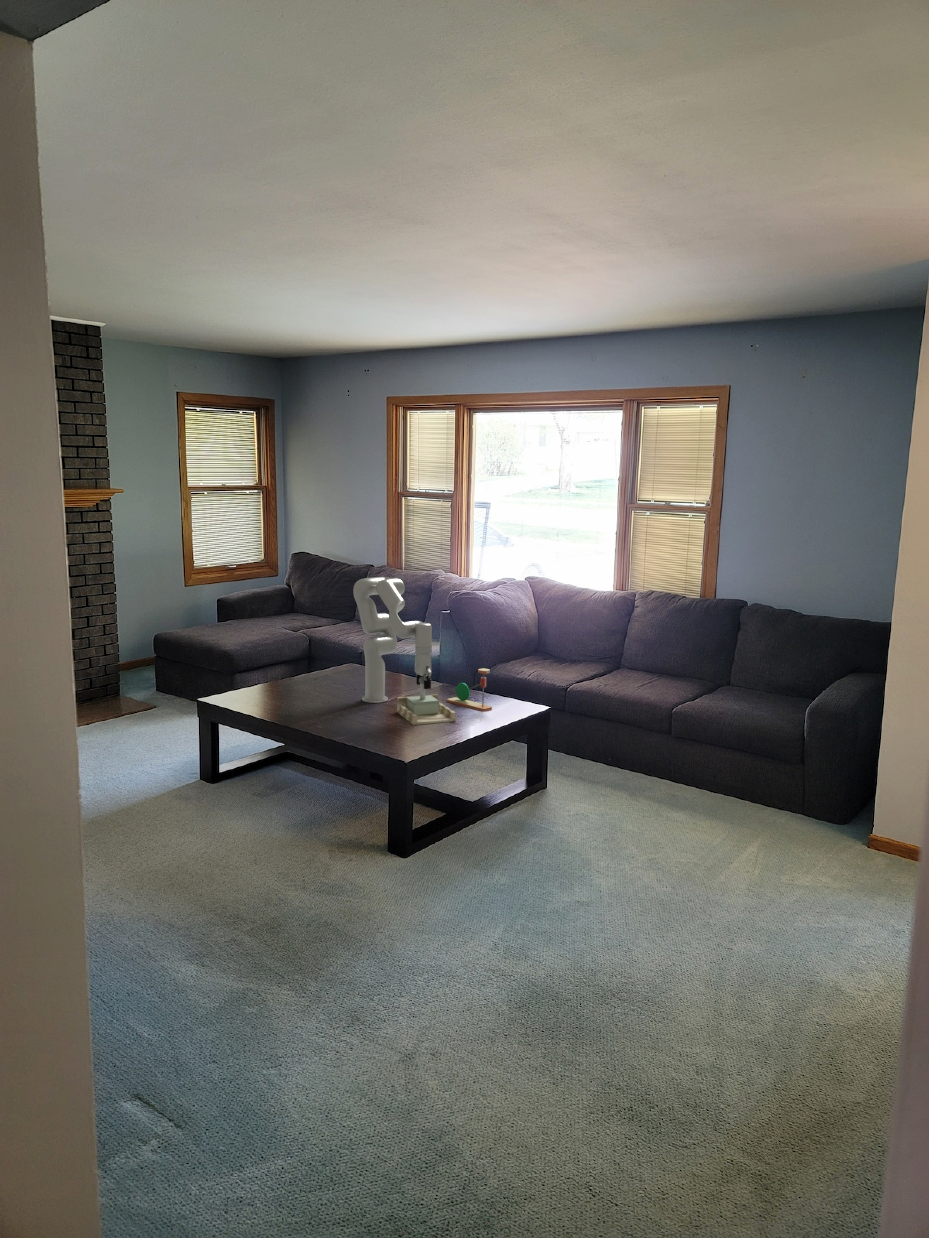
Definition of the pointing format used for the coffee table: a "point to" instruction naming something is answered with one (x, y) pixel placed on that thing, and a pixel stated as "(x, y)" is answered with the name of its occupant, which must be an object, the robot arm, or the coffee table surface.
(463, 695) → the crank mechanism
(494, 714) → the coffee table surface
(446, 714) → the bay
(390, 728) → the coffee table surface
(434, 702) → the green joystick
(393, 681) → the coffee table surface
